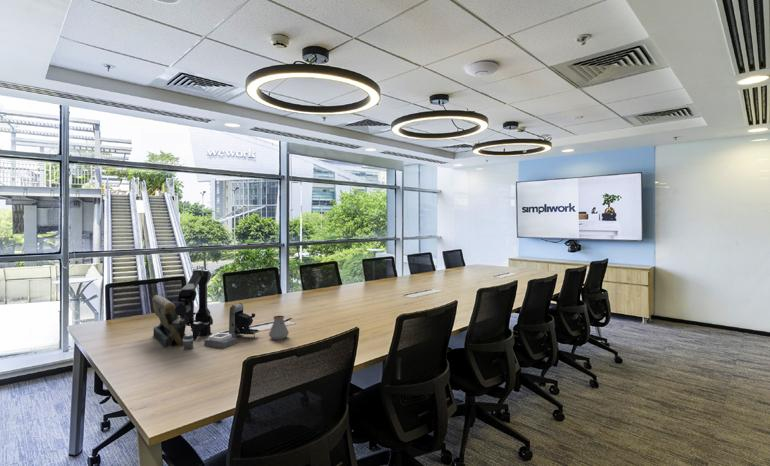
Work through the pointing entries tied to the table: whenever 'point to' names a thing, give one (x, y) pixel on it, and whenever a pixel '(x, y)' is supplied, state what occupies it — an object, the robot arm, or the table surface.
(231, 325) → the vintage camera
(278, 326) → the coffee pot
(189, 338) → the lens
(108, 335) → the table surface
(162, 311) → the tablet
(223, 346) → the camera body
